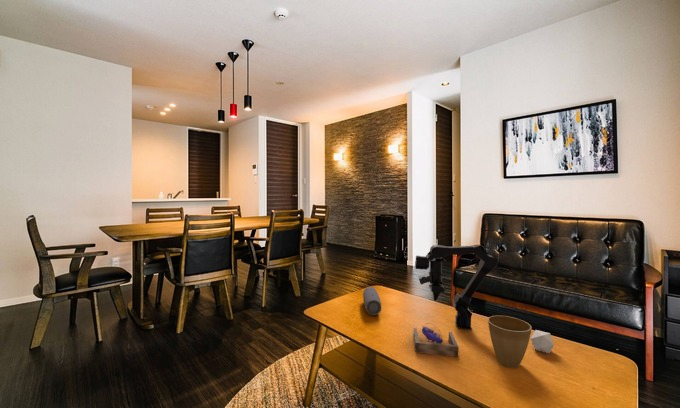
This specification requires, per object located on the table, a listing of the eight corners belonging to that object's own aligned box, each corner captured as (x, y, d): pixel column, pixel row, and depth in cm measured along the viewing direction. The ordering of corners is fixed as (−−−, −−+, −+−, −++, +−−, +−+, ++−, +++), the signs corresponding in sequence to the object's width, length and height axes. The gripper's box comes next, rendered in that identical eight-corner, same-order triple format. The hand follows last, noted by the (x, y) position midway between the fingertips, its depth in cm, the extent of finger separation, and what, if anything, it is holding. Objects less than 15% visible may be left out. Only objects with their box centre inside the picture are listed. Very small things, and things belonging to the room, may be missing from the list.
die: (555, 351, 126) (542, 328, 131) (562, 350, 119) (548, 326, 124) (536, 356, 127) (523, 333, 132) (542, 356, 120) (528, 331, 125)
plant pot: (529, 359, 118) (531, 320, 118) (530, 378, 106) (531, 335, 105) (488, 348, 126) (489, 311, 126) (484, 365, 114) (485, 324, 113)
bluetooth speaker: (382, 317, 156) (382, 299, 156) (365, 317, 156) (365, 298, 156) (377, 301, 179) (377, 285, 179) (362, 301, 179) (362, 285, 179)
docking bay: (451, 340, 133) (452, 331, 132) (458, 356, 119) (458, 347, 119) (413, 336, 136) (413, 328, 136) (415, 352, 123) (415, 342, 122)
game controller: (451, 335, 129) (439, 338, 122) (442, 352, 130) (430, 357, 123) (430, 319, 137) (418, 322, 130) (422, 336, 138) (410, 339, 131)
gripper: (418, 264, 160) (417, 293, 160) (421, 274, 141) (420, 305, 142) (439, 266, 157) (438, 294, 158) (445, 275, 139) (444, 308, 140)
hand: (435, 300), depth 149 cm, fingers closed
